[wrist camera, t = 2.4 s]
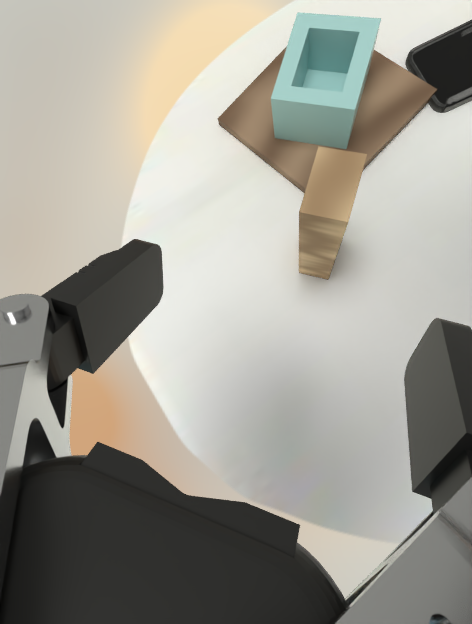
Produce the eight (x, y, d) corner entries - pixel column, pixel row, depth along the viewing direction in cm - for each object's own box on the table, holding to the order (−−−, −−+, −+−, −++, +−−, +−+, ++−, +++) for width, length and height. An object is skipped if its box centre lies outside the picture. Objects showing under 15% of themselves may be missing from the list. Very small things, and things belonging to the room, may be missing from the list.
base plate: (433, 97, 35) (437, 89, 34) (324, 209, 35) (325, 204, 34) (317, 23, 38) (317, 14, 38) (219, 124, 39) (217, 118, 38)
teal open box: (368, 71, 35) (381, 18, 30) (346, 149, 34) (354, 109, 29) (297, 63, 37) (297, 12, 32) (274, 138, 36) (270, 98, 31)
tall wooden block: (339, 237, 34) (367, 154, 21) (328, 279, 34) (348, 222, 20) (310, 231, 35) (318, 146, 21) (299, 272, 34) (299, 212, 21)
